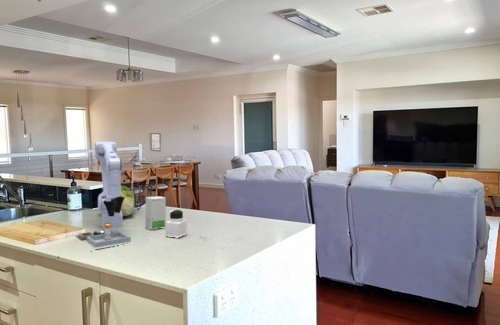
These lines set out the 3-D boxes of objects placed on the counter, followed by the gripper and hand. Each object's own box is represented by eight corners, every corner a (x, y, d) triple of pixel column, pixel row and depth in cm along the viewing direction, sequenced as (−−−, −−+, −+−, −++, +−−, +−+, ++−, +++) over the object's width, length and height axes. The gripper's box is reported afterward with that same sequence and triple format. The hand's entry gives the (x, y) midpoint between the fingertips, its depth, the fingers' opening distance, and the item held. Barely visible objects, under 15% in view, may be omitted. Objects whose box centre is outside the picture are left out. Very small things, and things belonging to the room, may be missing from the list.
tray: (120, 238, 174) (120, 231, 174) (130, 244, 165) (130, 237, 165) (86, 243, 165) (86, 236, 165) (95, 250, 156) (95, 243, 156)
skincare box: (150, 230, 188) (150, 199, 187) (144, 228, 193) (144, 197, 191) (166, 228, 193) (166, 197, 192) (159, 225, 198) (159, 195, 197)
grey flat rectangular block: (106, 233, 182) (106, 226, 181) (114, 238, 174) (114, 231, 174) (74, 238, 172) (74, 231, 172) (81, 243, 165) (81, 236, 165)
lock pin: (107, 240, 167) (107, 222, 167) (113, 241, 166) (113, 223, 166) (101, 243, 164) (101, 224, 164) (108, 243, 163) (108, 225, 162)
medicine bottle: (186, 235, 181) (186, 209, 180) (179, 238, 175) (179, 212, 174) (173, 233, 184) (173, 208, 183) (165, 237, 177) (165, 211, 176)
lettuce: (111, 207, 201) (138, 185, 211) (87, 194, 214) (113, 174, 224) (125, 230, 212) (150, 208, 222) (102, 217, 225) (126, 196, 235)
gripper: (111, 182, 181) (111, 211, 182) (98, 186, 167) (99, 217, 168) (126, 182, 181) (126, 211, 182) (114, 187, 167) (115, 218, 168)
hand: (114, 214), depth 175 cm, fingers open, 7 cm apart
